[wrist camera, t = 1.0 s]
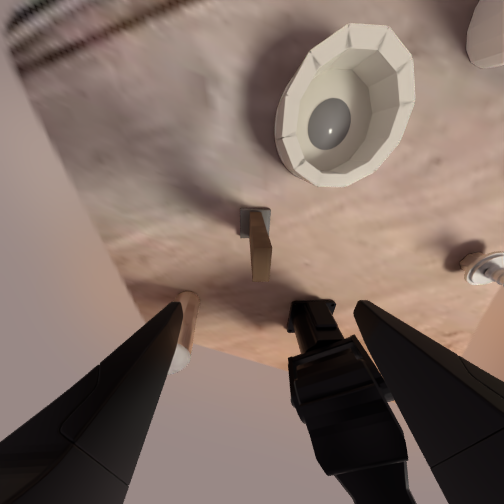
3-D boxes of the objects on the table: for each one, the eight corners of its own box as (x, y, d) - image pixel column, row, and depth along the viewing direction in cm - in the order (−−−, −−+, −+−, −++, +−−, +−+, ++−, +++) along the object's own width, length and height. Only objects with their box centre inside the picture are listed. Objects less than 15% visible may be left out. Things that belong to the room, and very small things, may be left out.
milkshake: (197, 279, 23) (169, 356, 15) (209, 308, 26) (191, 387, 17) (163, 285, 23) (116, 364, 15) (179, 313, 26) (146, 393, 17)
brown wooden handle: (270, 208, 19) (287, 245, 12) (267, 235, 21) (282, 283, 13) (240, 208, 19) (238, 245, 11) (240, 235, 20) (238, 283, 13)
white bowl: (359, 182, 18) (383, 189, 15) (270, 180, 18) (276, 186, 15) (398, 55, 14) (444, 27, 11) (279, 48, 13) (291, 16, 10)
